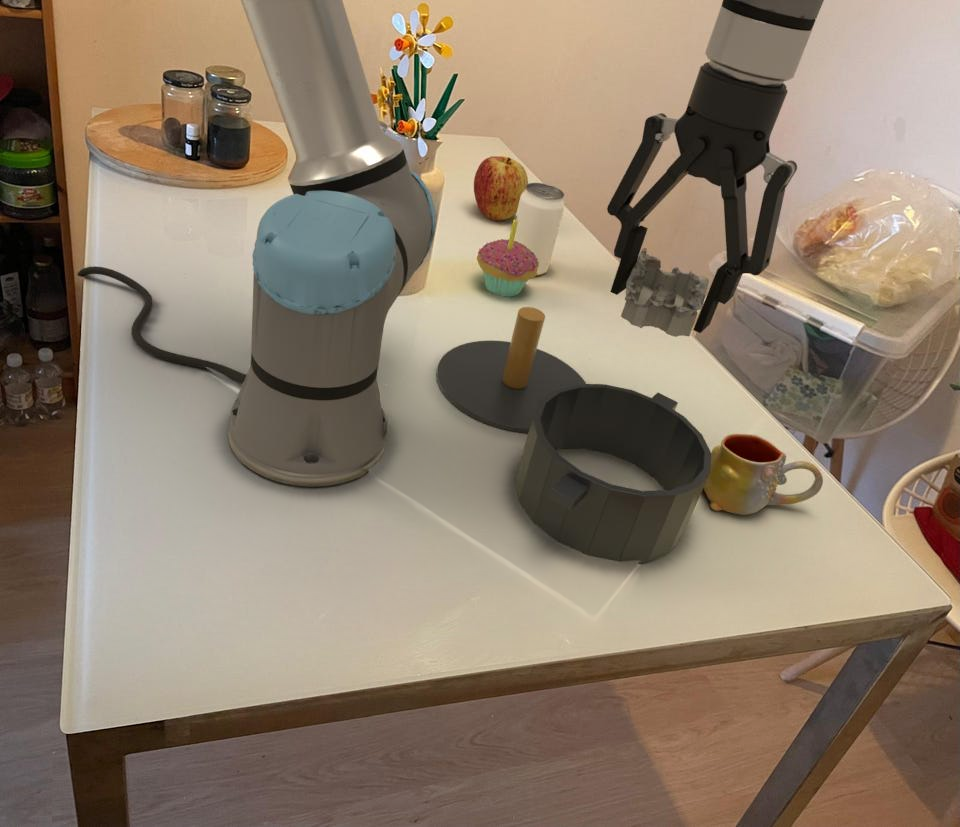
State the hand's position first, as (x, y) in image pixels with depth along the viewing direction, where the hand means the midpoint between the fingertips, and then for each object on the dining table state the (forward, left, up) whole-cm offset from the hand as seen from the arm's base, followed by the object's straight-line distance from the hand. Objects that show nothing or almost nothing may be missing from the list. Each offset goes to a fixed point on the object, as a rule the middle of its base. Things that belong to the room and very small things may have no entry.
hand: (659, 307), depth 83 cm
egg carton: (0, 0, -1) cm, 1 cm away
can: (-30, +30, -17) cm, 46 cm away
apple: (-44, +42, -17) cm, 63 cm away
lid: (-13, 0, -16) cm, 21 cm away
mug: (+16, +3, -17) cm, 23 cm away
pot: (+4, -10, -17) cm, 20 cm away
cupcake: (-28, +20, -17) cm, 39 cm away
